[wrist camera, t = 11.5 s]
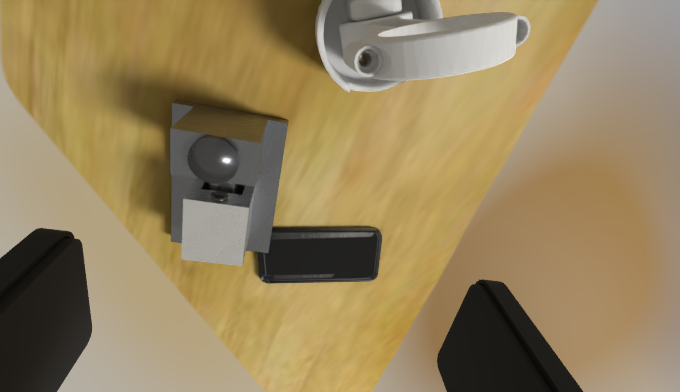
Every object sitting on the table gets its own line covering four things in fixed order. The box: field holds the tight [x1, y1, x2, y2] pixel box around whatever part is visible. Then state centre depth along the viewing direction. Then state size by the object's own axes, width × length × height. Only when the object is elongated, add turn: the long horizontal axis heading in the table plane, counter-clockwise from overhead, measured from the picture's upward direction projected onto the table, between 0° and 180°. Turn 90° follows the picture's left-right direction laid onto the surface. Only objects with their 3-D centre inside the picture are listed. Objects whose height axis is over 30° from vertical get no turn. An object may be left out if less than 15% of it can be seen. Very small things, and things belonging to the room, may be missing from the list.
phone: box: [258, 227, 382, 283], centre depth 45 cm, size 8×1×15 cm
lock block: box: [182, 178, 255, 266], centre depth 38 cm, size 6×7×5 cm
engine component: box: [315, 0, 530, 92], centre depth 25 cm, size 11×20×10 cm
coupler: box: [170, 100, 288, 253], centre depth 36 cm, size 16×11×9 cm
